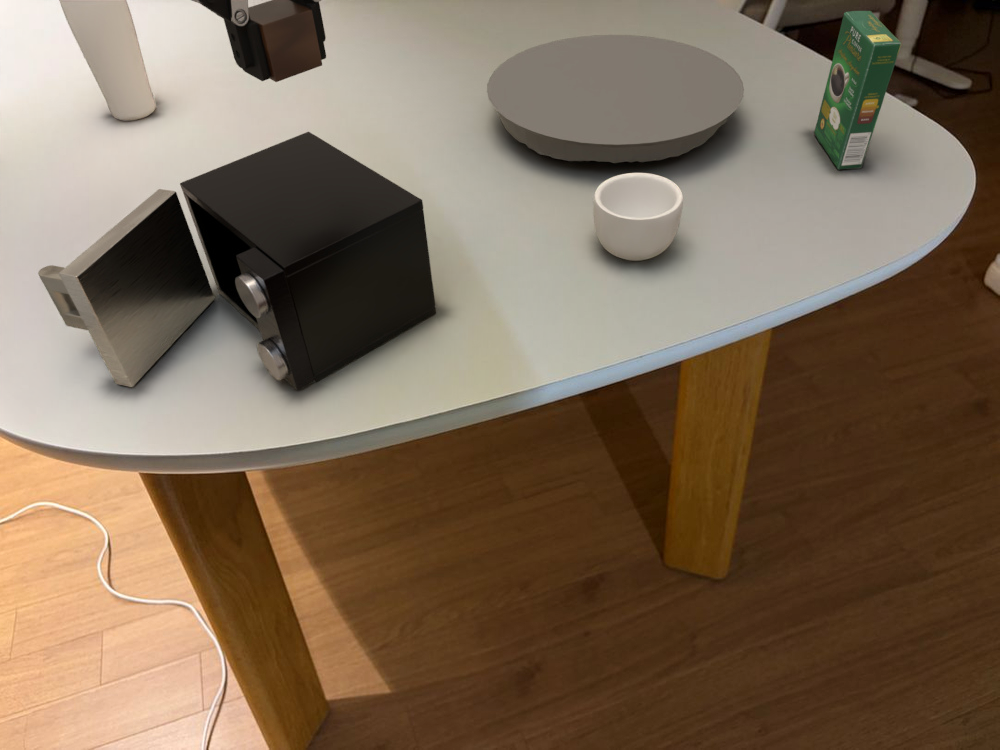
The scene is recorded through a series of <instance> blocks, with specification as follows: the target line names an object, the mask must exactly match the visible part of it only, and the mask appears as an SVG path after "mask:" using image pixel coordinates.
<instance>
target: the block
mask: <svg viewBox="0 0 1000 750" xmlns="http://www.w3.org/2000/svg"><path fill="white" fill-rule="evenodd" d="M248 9H249V15H250V19H251V20H252V21H254V22H256V23H258V25H259V28H260V32H261V36H262V40H263V44H264V48H265V53H266V57H267V61H268V65H269V69H270V73H271V76H270V78H269V79H268V80H271V81H273V82H275V83H278V82H281V81H283V80H286V79H289V78H292V77H294V76H297V75H300V74H302V73H305V72H309V71H311V70H313V69H317V68H319V67H321V66H323V61H322V60H321V55H320V50H319V45H318V40H317V35H316V29H315V24H314V19H313V14H312V10H311V9H309V8H306V7H304V6H301V5H299V4H297V3H294V2H292V1H290V0H268V1H265V2H262V3H259V4H258V3H257V4H255V5H251V6H248Z"/></svg>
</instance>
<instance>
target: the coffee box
mask: <svg viewBox="0 0 1000 750" xmlns="http://www.w3.org/2000/svg"><path fill="white" fill-rule="evenodd" d="M901 47H902V42H901V41H900V40H899V39H898V38H897V37H896V36H895V35H894V34H893V33H892V32H891V31H890V30H889V29H888V28H887V27H886V25H884V23H882V21H881V20H880V19H879V18H878V17H877V16H876V15H875V13H873V12H872V11H871V10H852V11H851V10H850V11H844V13H843V17H842V20H841V25H840V29H839V33H838V37H837V41H836V45H835V49H834V51H833V52H834V53H833V56H832V61H831V64H830V69H829V71H828V72H829V73H828V77H827V81H826V84H825V89H824V91H823V92H824V93H823V96H822V100H821V104H820V108H819V112H818V116H817V120H816V124H815V128H814V131H813V134H814V135H815V137H816V139H817V141H818V143H819V144H821V146H822V147H823V149H824V151H825V152H826V153H827V155H828V156H829V158H830V160H831V162H832V163H833V164H834V166H835V167H836V169H837V170H855V169H862V168H863V164H864V163H865V159H866V155H867V152H868V149H869V147H870V143H871V140H872V138H873V137H872V136H873V134H874V131H875V128H876V124H877V121H878V118H879V115H880V112H881V109H882V106H883V102H884V99H885V96H886V93H887V90H888V87H889V83H890V81H891V77H892V76H893V75H892V74H893V71H894V69H895V65H896V63H897V58H898V56H899V52H900V50H901Z"/></svg>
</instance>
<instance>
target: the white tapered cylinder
mask: <svg viewBox="0 0 1000 750" xmlns="http://www.w3.org/2000/svg"><path fill="white" fill-rule="evenodd" d="M58 1H59V5H60V7H61V10H62V13H63V15H64V17H65V20H66V22H67V25H68V26H69V29H70V31H71V33H72V35H73V37H74V39H75V41H76V43H77V45H78V47H79V49H80V52H81V54H82V56H83V57H84V59H85V61H86V64H87V66H88V67H89V69H90V71H91V73H92V75H93V77H94V79H95V82H96V83H97V85H98V88H99V90H100V92H101V94H102V96H103V98H104V101H105V103H106V105H107V107H108V111H109V112H110V114H111V116H112V117H113V118H115V119H116V120H119V121H125V122H126V121H127V122H128V121H137V120H140V119H144V118H146V117H148V116H150V115H151V114H152V113H154V112H155V110H156V108H157V103H156V100H155V96H154V94H153V91H152V88H151V84H150V80H149V77H148V73H147V70H146V65H145V61H144V58H143V54H142V49H141V45H140V42H139V38H138V34H137V30H136V26H135V23H134V19H133V16H132V13H131V9H130V7H129V4H128V1H127V0H58Z"/></svg>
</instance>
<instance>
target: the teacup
mask: <svg viewBox="0 0 1000 750" xmlns="http://www.w3.org/2000/svg"><path fill="white" fill-rule="evenodd" d="M683 197H684V196H683V193H682V189H681V188H680V187H679V186H678V185H677V183H675V182H674V181H673V180H670V179H669V178H667V177H664V176H661V175H659V174H654V173H649V172H628V173H622V174H617V175H614V176H612V177H610V178H607V179H606V180H604V181H602V182H601V183H600V184H599V185H598V186H597V188H596V189H595V192H594V195H593V199H592V200H593V201H592V203H593V205H592V210H593V213H592V214H593V226H594V231H595V234H596V237H597V239H598V241H599V243H600V244H601V246H602V247H603V249H605V250H606V251H607V252H608V253H609V254H611V255H612V256H615V257H617V258H619V259H623V260H625V261H631V262H632V261H635V262H638V261H644V260H649V259H653V258H655V257H657V256H659V255H660V254H662V253H663V252H664V251H666V250H667V249H668V248H669V247H670V246H671V244H672V243H673V241H674V239H675V237H676V235H677V232H678V229H679V226H680V222H681V219H682V218H681V216H682V212H683V207H684V206H683V205H684V198H683Z"/></svg>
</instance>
